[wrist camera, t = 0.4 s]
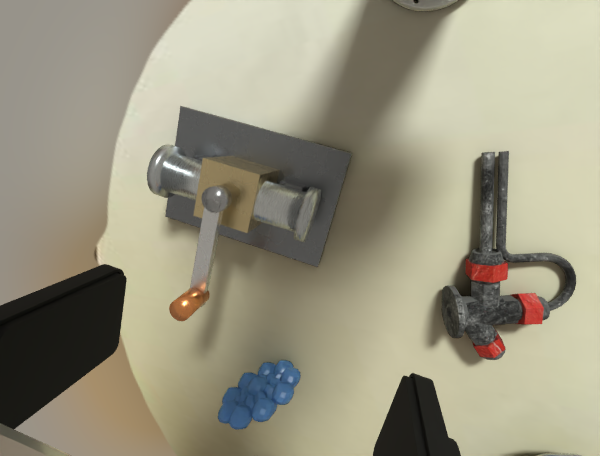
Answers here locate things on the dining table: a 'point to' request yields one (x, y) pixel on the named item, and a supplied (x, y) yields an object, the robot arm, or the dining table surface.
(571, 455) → the ramen bowl
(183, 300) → the lever
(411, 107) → the dining table surface
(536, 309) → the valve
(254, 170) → the valve body
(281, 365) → the grapes
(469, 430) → the dining table surface
